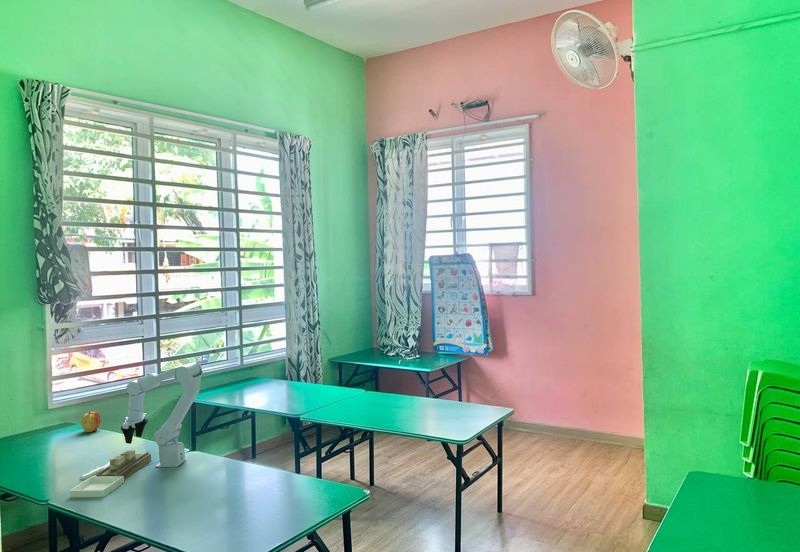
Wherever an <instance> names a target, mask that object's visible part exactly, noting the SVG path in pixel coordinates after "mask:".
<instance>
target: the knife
mask: <svg viewBox="0 0 800 552" xmlns="http://www.w3.org/2000/svg"><path fill="white" fill-rule="evenodd" d="M109 465H110V459H108V463H107V464H105V465H103V466H96V467H95V468H94V469H92V470H90V471H89V472H88V473H86V474H81V475H80V479H81V480H84V481H85V480H87V479H88V478H90V477H92V476H96V474H98V472H100V471H102V470H103V469H105V468H106V467H108V466H109Z"/></svg>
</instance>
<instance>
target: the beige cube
mask: <svg viewBox="0 0 800 552" xmlns="http://www.w3.org/2000/svg"><path fill="white" fill-rule="evenodd" d="M135 454H136V450H135V449H132V450H124V451H123V452H120V453H119V456H125V463H126V464H129V463H131V462H132V461H134V460H135V459H136V455H135Z"/></svg>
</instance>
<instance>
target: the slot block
mask: <svg viewBox="0 0 800 552" xmlns="http://www.w3.org/2000/svg"><path fill="white" fill-rule="evenodd" d="M135 455H136V459H135V460H134V461H132V462H131V463H129V464H126V466H124V467H123V468H121V469H110V465H109V466H108V467H106V468H105V469H103V470H102V471H100V472H98V473H97V474H95V476H124V481H125V480H126V479H127V477H128V478H129V477H130V476H132V475H133V474H135V473H136V472H138V470H141V469H142V468H143V467H145V466H146V465H147V464H149V463H150V462H151V461H152V455H151V453H149V451H146V452H144V453H135Z"/></svg>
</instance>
